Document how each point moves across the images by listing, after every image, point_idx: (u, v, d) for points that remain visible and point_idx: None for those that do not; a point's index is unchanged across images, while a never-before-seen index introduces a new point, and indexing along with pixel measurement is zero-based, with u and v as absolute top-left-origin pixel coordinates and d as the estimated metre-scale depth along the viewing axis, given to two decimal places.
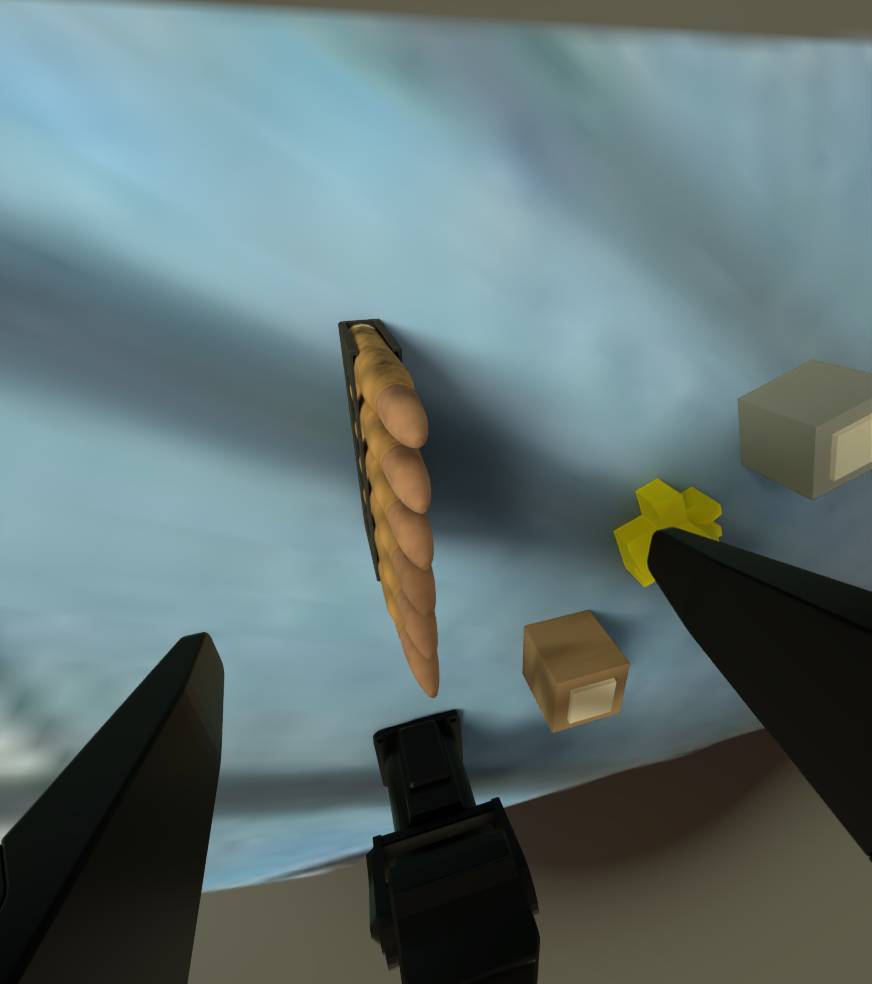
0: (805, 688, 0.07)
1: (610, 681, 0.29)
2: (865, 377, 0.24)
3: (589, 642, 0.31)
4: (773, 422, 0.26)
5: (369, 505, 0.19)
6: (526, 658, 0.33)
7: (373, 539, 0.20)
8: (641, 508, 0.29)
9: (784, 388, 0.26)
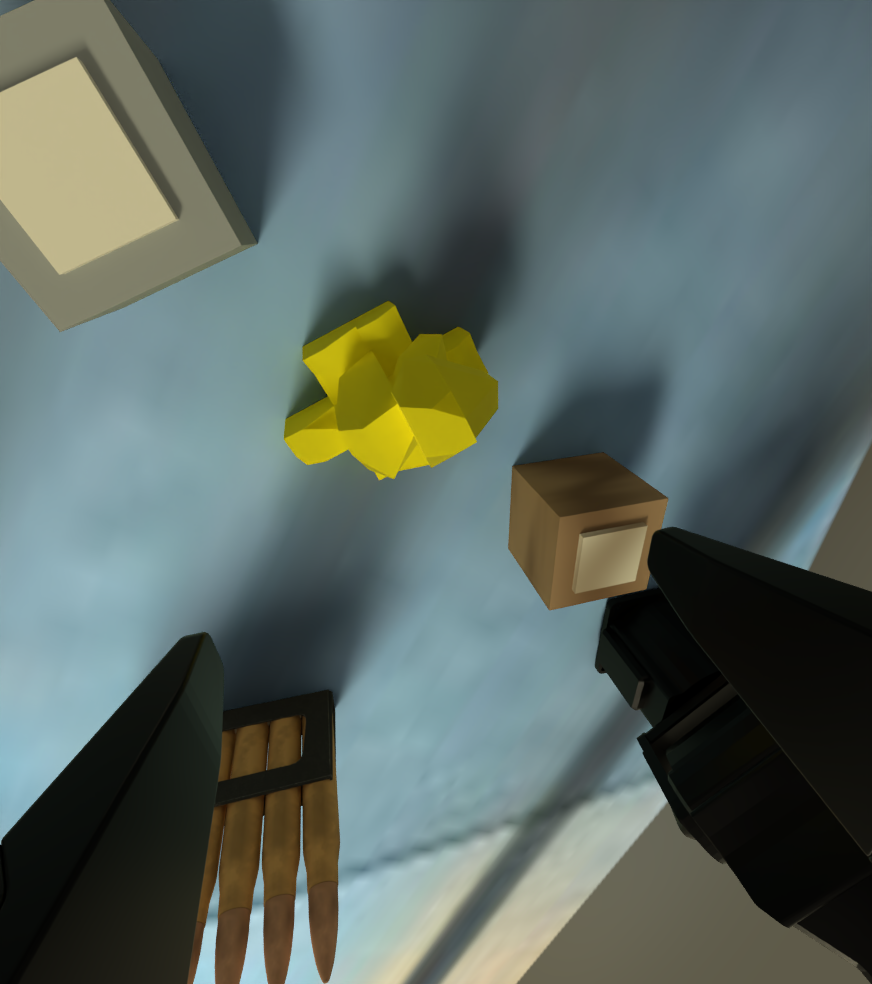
0: (805, 688, 0.07)
1: (580, 542, 0.19)
2: None
3: (533, 520, 0.21)
4: (119, 307, 0.14)
5: None
6: None
7: None
8: None
9: None
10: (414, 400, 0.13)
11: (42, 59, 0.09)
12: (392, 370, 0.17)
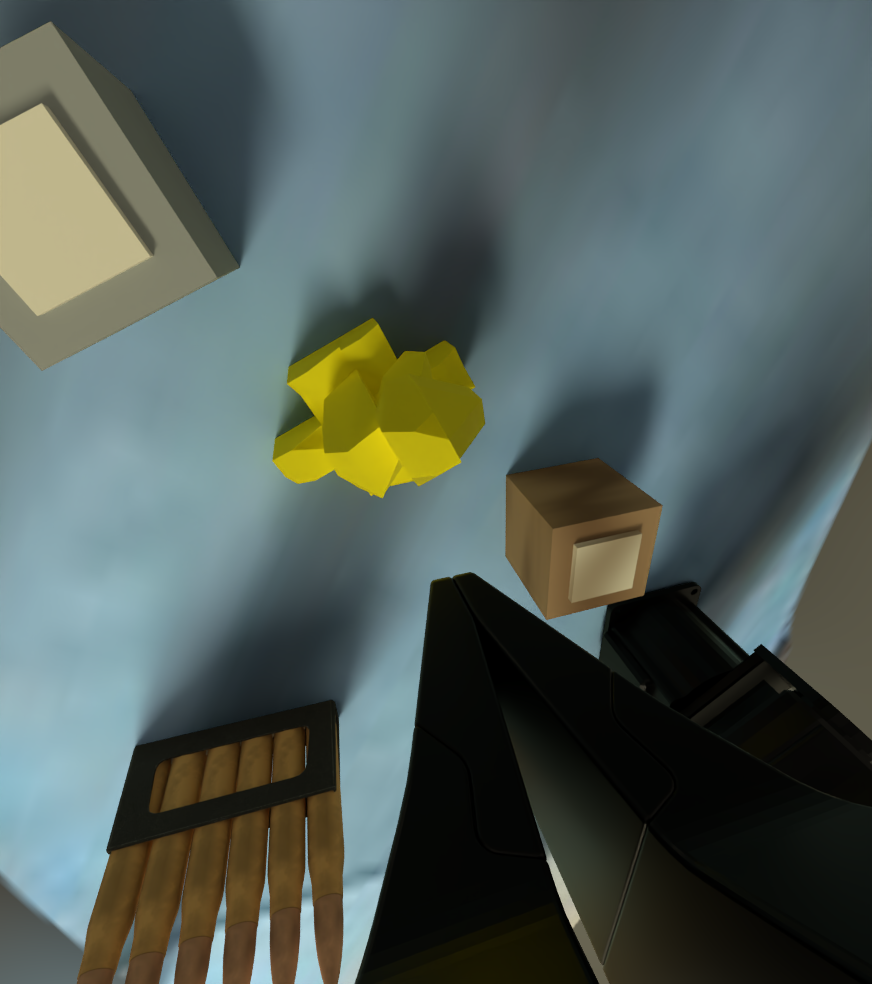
0: (542, 771, 0.06)
1: (575, 552, 0.19)
2: None
3: (528, 530, 0.21)
4: (102, 339, 0.14)
5: None
6: None
7: None
8: None
9: None
10: (396, 424, 0.13)
11: (8, 106, 0.09)
12: (378, 388, 0.17)
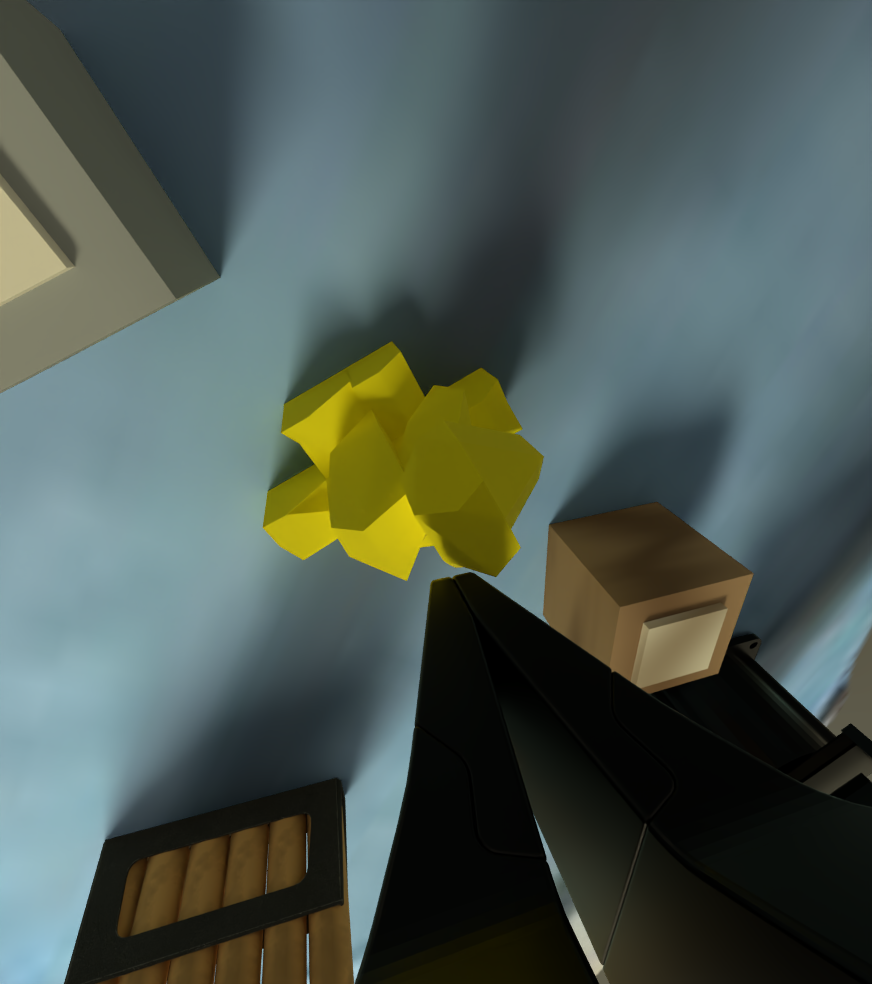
0: (542, 771, 0.06)
1: (644, 633, 0.15)
2: None
3: (579, 597, 0.17)
4: (24, 379, 0.10)
5: None
6: None
7: None
8: None
9: None
10: (433, 501, 0.09)
11: None
12: (399, 431, 0.14)
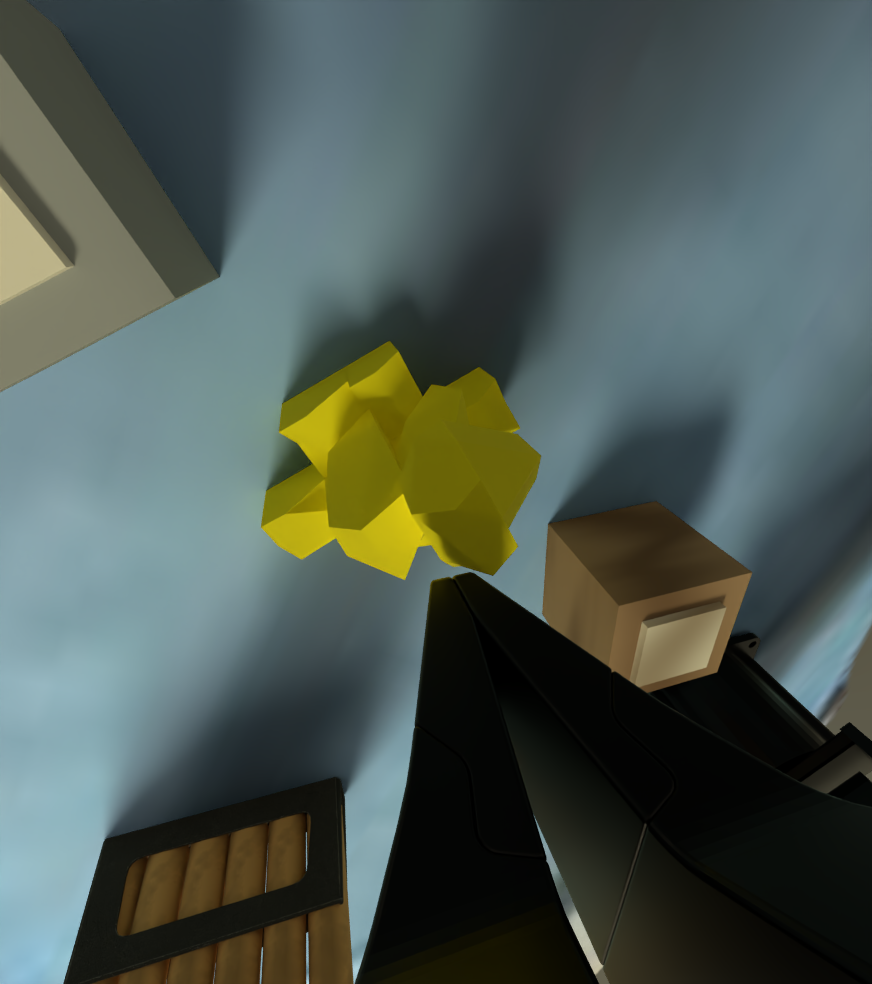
0: (542, 771, 0.06)
1: (643, 632, 0.15)
2: None
3: (578, 596, 0.17)
4: None
5: None
6: None
7: None
8: None
9: None
10: (430, 500, 0.09)
11: None
12: (397, 431, 0.14)
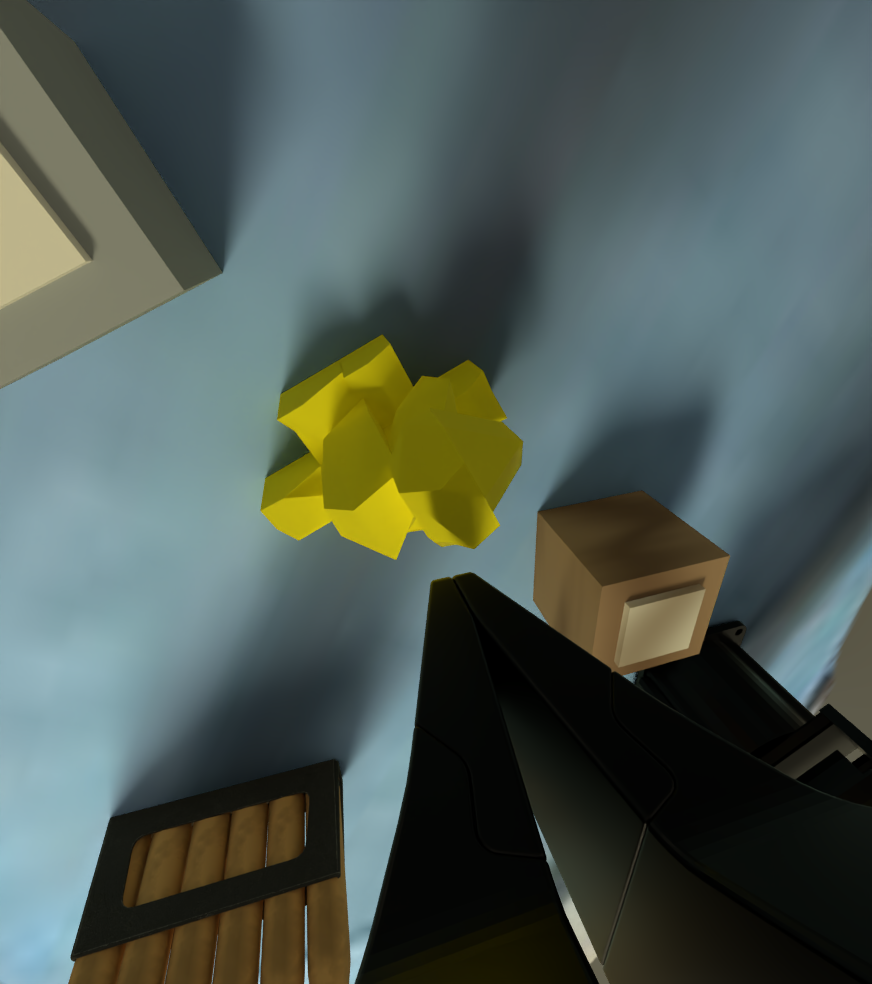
0: (542, 771, 0.06)
1: (626, 612, 0.16)
2: None
3: (565, 579, 0.18)
4: (41, 367, 0.11)
5: None
6: None
7: None
8: None
9: None
10: (417, 481, 0.10)
11: None
12: (390, 420, 0.14)
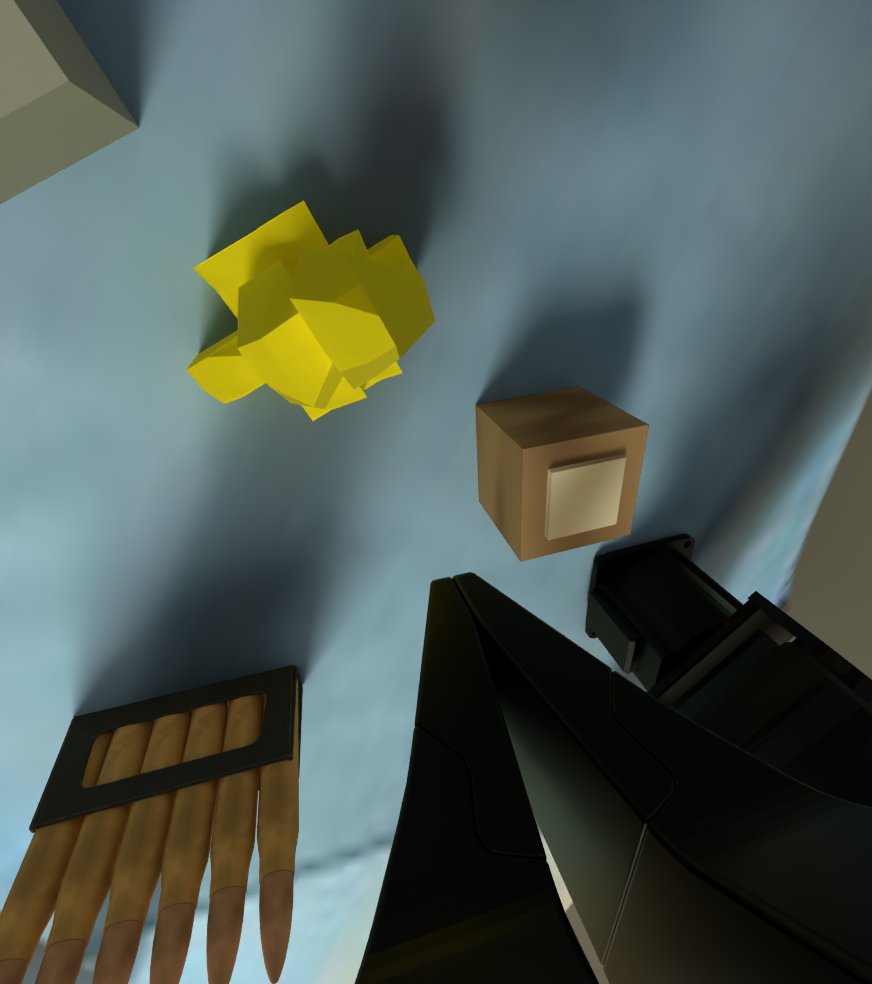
0: (542, 771, 0.06)
1: (549, 479, 0.17)
2: None
3: (499, 461, 0.19)
4: None
5: None
6: None
7: None
8: None
9: None
10: (310, 292, 0.11)
11: None
12: None
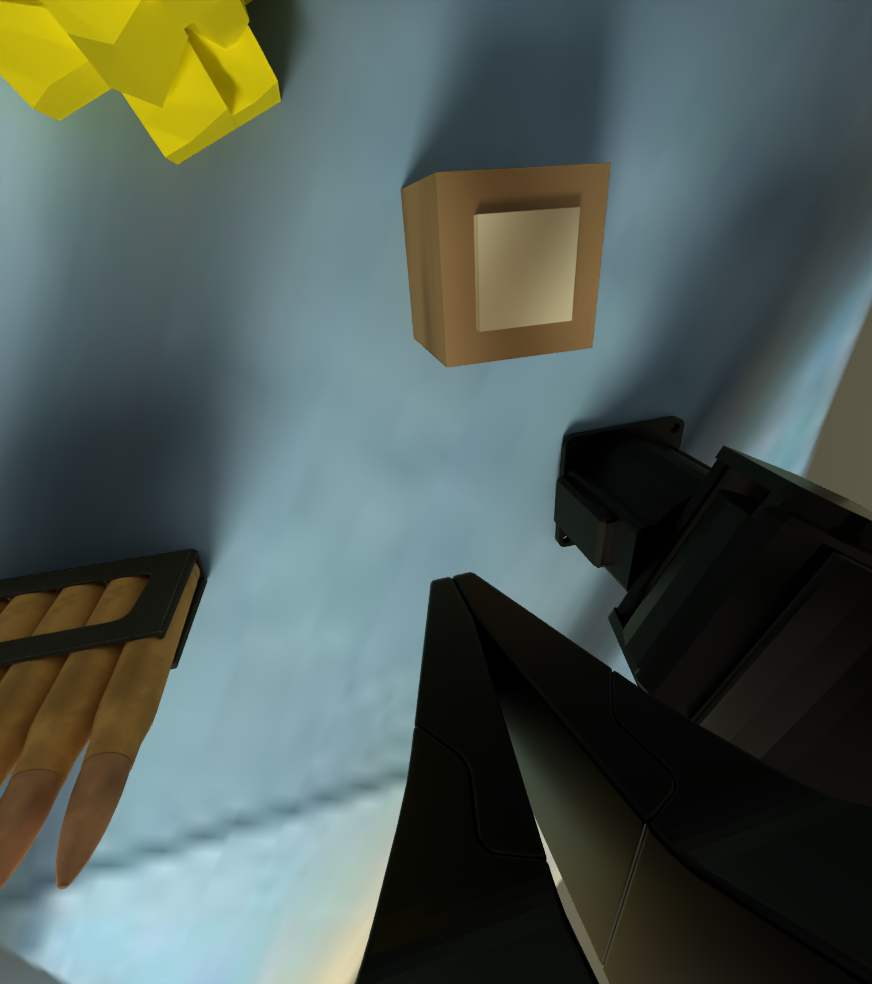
0: (542, 771, 0.06)
1: (475, 228, 0.12)
2: None
3: (421, 240, 0.14)
4: None
5: None
6: None
7: None
8: (99, 92, 0.13)
9: None
10: None
11: None
12: None
